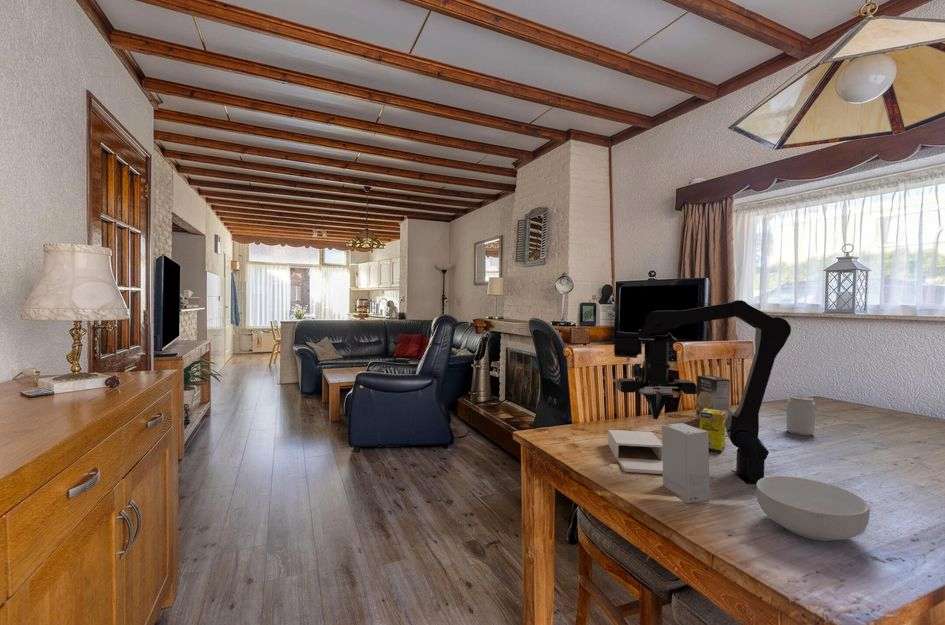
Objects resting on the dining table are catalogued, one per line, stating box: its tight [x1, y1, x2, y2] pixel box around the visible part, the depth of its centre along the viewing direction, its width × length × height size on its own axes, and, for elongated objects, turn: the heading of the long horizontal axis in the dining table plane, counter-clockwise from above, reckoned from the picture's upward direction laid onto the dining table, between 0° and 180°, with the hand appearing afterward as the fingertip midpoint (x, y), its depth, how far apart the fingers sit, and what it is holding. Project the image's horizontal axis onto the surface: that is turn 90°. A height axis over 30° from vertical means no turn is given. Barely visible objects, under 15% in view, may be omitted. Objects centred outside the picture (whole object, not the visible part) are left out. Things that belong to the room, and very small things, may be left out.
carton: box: [607, 429, 663, 460], centre depth 120 cm, size 12×12×5 cm
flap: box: [616, 457, 663, 475], centre depth 110 cm, size 1×12×9 cm
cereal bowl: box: [755, 475, 870, 542], centre depth 81 cm, size 17×17×7 cm
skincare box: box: [661, 422, 710, 504], centre depth 96 cm, size 8×6×15 cm
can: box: [785, 394, 817, 437], centre depth 144 cm, size 8×8×12 cm
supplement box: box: [699, 408, 726, 454], centre depth 127 cm, size 6×6×11 cm
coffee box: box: [695, 374, 731, 422], centre depth 156 cm, size 9×6×16 cm
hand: (655, 419), depth 114 cm, fingers closed
